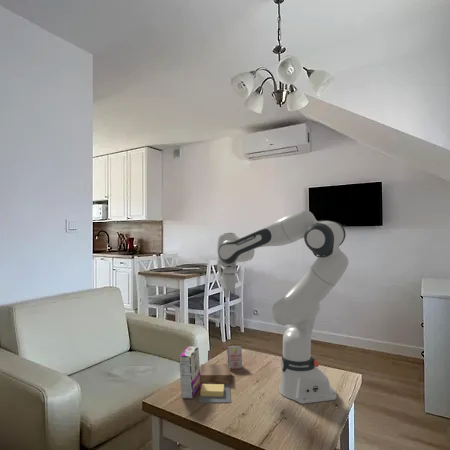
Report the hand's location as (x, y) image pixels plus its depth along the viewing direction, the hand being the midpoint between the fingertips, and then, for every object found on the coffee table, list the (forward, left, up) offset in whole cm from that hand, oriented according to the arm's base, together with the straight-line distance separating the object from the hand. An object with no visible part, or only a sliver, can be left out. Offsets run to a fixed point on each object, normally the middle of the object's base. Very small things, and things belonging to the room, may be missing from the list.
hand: (226, 297), depth 151 cm
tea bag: (-4, -4, -34) cm, 35 cm away
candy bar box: (+14, +20, -34) cm, 42 cm away
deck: (+5, +8, -34) cm, 35 cm away
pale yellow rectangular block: (+6, +21, -32) cm, 39 cm away
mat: (+5, +21, -34) cm, 40 cm away
